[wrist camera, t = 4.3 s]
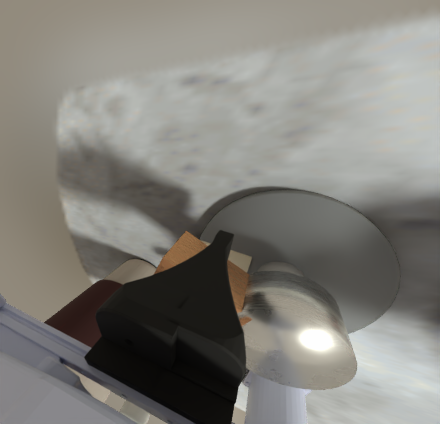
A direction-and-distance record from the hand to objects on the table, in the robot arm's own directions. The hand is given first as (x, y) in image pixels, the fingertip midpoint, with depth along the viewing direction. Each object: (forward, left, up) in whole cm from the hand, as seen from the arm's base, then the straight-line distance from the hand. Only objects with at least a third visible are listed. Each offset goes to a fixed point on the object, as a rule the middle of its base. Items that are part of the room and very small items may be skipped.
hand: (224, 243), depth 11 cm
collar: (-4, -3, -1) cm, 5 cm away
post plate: (-5, -5, -5) cm, 9 cm away
